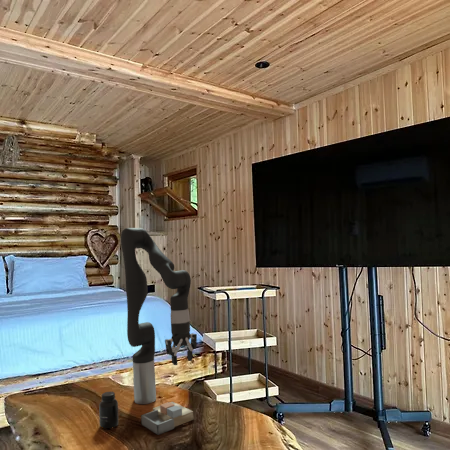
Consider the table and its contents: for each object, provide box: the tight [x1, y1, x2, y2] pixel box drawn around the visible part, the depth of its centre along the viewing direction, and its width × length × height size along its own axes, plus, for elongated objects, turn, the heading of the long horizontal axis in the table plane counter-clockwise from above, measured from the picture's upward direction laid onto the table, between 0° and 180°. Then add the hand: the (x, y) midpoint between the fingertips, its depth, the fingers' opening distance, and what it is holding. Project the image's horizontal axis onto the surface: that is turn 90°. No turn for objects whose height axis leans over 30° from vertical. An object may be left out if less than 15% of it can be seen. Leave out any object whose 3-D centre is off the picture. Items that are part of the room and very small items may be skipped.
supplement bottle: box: [98, 391, 119, 429], centre depth 157 cm, size 7×7×12 cm
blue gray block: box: [167, 406, 182, 418], centre depth 156 cm, size 4×4×2 cm
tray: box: [140, 410, 175, 435], centre depth 154 cm, size 12×7×4 cm, turn 40°
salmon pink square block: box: [159, 401, 175, 414], centre depth 160 cm, size 4×4×2 cm
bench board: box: [152, 401, 194, 428], centre depth 161 cm, size 14×9×3 cm, turn 40°
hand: (182, 362), depth 166 cm, fingers open, 6 cm apart
